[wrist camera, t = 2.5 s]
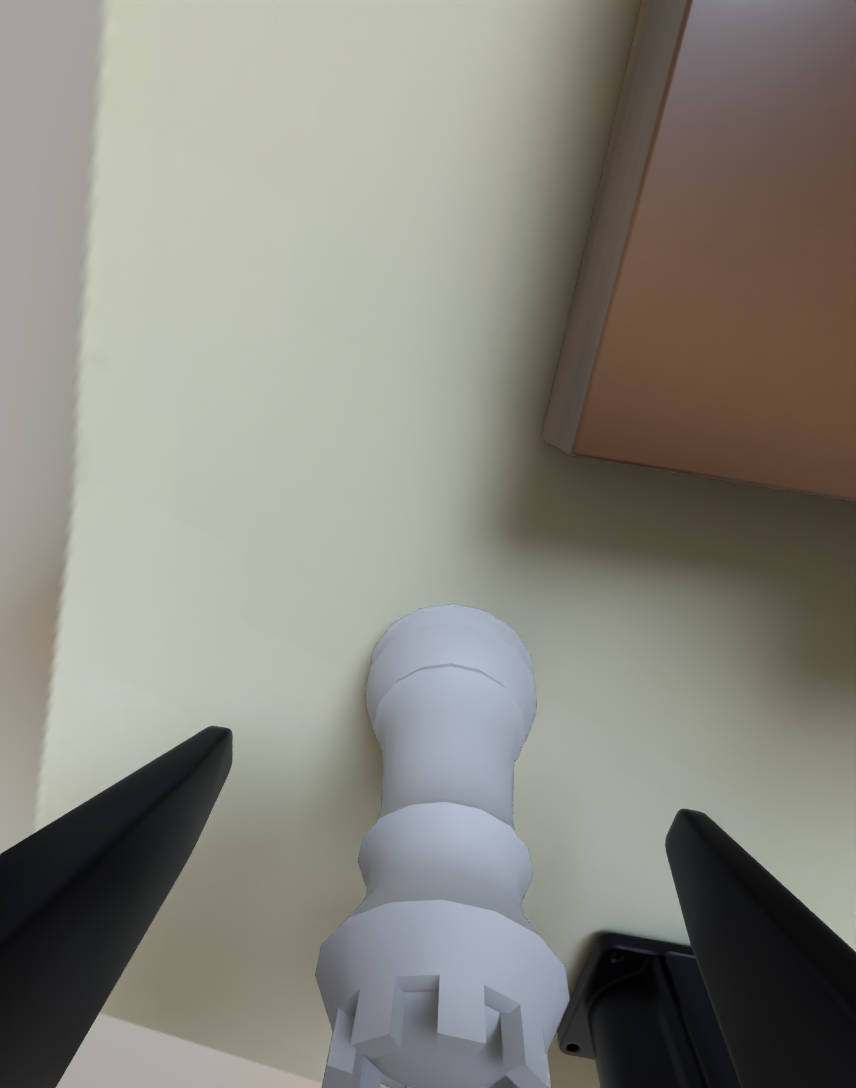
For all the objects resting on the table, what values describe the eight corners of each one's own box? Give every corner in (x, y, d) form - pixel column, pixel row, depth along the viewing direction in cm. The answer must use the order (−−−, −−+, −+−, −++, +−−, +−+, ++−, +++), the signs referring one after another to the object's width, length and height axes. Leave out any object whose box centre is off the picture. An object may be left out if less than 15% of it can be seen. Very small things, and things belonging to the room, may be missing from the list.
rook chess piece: (561, 634, 12) (745, 1067, 4) (489, 752, 13) (528, 1236, 6) (407, 570, 11) (302, 908, 4) (351, 698, 13) (194, 1128, 5)
